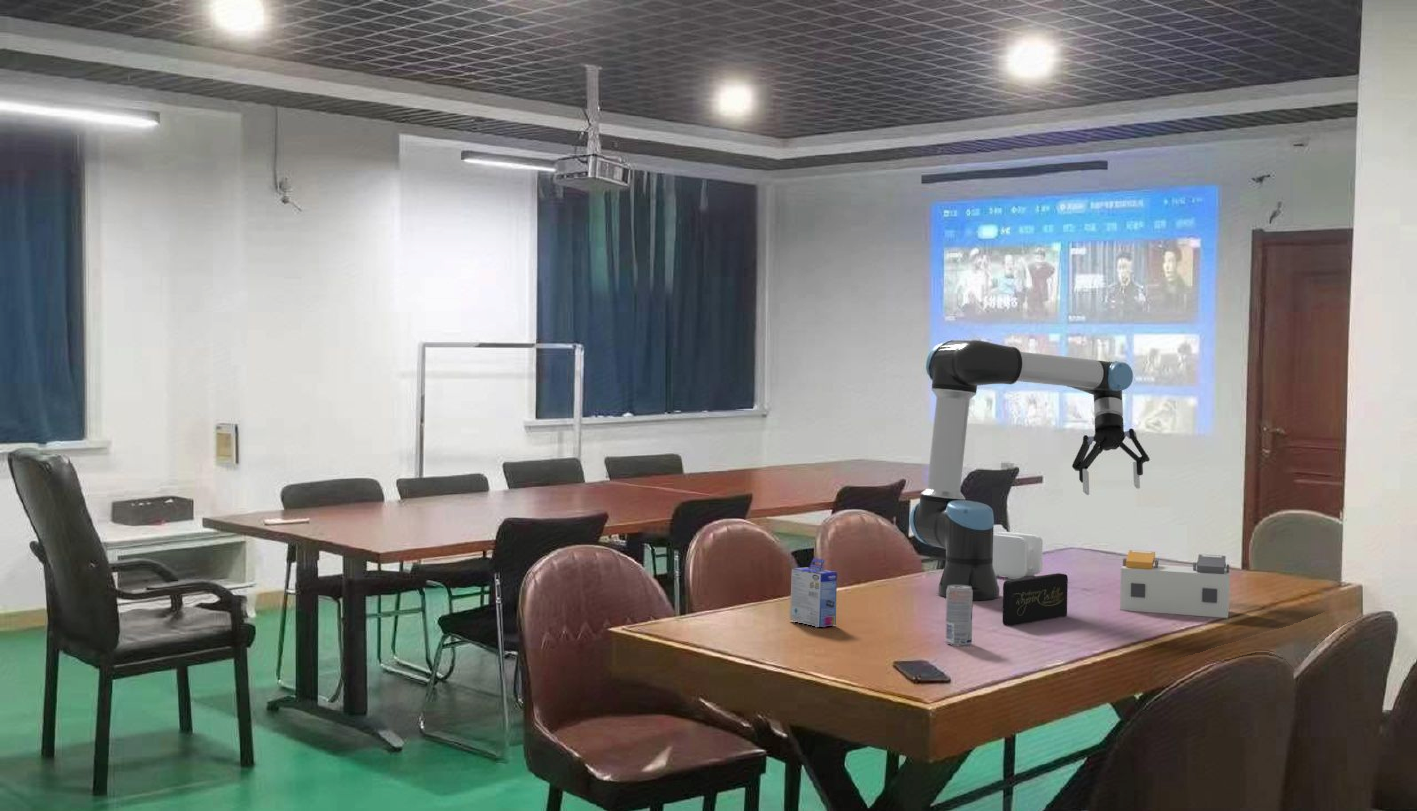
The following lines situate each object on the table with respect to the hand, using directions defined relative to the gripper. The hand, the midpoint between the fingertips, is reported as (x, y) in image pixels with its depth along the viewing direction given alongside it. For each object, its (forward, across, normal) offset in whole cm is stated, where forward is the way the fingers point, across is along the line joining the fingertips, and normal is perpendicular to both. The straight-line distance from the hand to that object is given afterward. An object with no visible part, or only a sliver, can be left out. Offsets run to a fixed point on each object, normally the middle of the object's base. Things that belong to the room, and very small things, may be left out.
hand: (1111, 490), depth 361 cm
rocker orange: (+28, -13, +21) cm, 37 cm away
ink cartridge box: (+56, +44, +78) cm, 105 cm away
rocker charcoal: (+29, -28, +17) cm, 44 cm away
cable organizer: (+18, +32, -9) cm, 38 cm away
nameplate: (+48, +5, +44) cm, 66 cm away
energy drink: (+62, +10, +77) cm, 99 cm away
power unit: (+39, -18, +14) cm, 45 cm away
